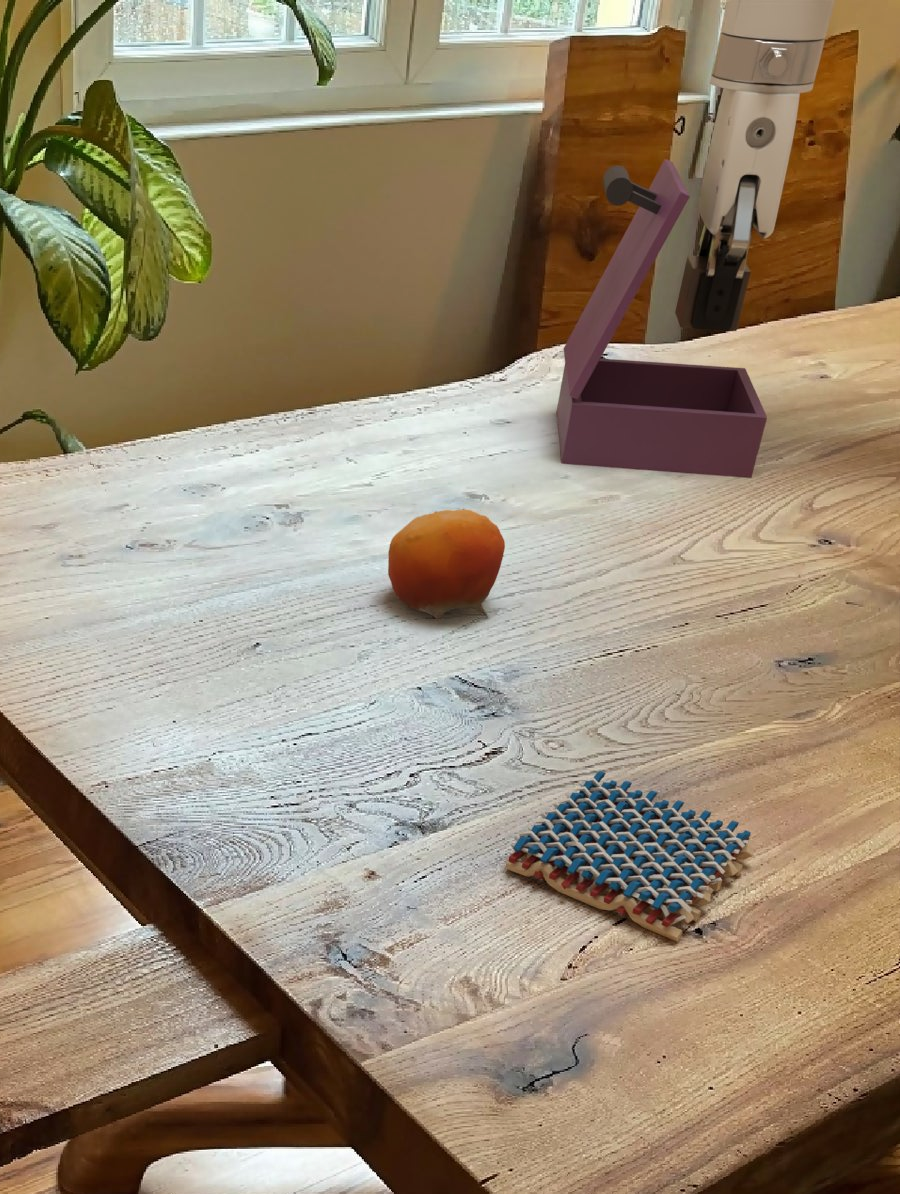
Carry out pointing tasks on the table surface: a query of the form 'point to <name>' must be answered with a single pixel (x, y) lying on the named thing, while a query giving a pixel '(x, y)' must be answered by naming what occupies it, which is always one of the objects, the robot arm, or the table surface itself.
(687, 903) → the woven mat
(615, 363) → the box
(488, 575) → the fruit
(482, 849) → the table surface
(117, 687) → the table surface
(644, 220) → the lid
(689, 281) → the block
